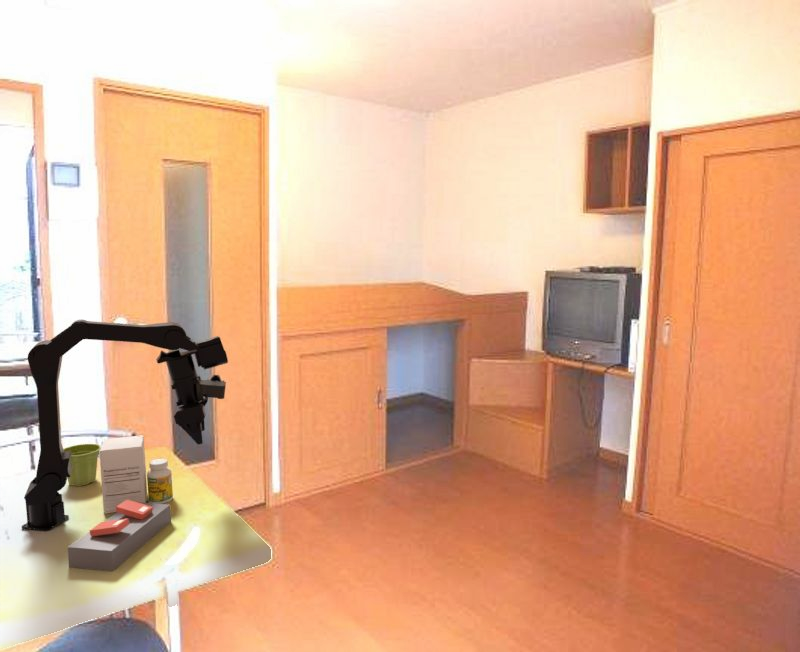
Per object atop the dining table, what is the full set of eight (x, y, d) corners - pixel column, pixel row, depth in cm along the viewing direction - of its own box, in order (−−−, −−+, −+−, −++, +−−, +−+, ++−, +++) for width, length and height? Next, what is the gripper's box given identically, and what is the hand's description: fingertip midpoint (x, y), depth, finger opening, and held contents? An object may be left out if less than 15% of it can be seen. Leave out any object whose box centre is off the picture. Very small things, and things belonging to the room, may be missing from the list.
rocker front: (90, 536, 112) (89, 530, 112) (103, 527, 116) (101, 521, 116) (118, 532, 111) (116, 526, 111) (129, 523, 115) (128, 517, 114)
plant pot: (63, 478, 151) (60, 446, 150) (103, 472, 155) (101, 441, 154) (59, 491, 143) (56, 458, 142) (102, 485, 147) (100, 452, 146)
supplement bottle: (175, 494, 141) (173, 457, 140) (169, 504, 136) (167, 465, 135) (152, 496, 140) (150, 458, 139) (145, 505, 135) (143, 466, 134)
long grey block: (69, 567, 109) (67, 547, 108) (144, 510, 132) (143, 494, 132) (112, 571, 107) (111, 550, 107) (180, 513, 131) (179, 496, 130)
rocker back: (115, 511, 120) (116, 506, 120) (126, 504, 123) (127, 499, 123) (142, 519, 119) (142, 514, 119) (152, 512, 123) (152, 506, 122)
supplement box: (107, 498, 139) (103, 438, 137) (147, 493, 142) (144, 434, 140) (102, 514, 130) (98, 450, 129) (145, 508, 134) (142, 445, 132)
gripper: (217, 376, 128) (235, 441, 131) (220, 358, 145) (235, 415, 149) (165, 389, 125) (184, 455, 129) (174, 369, 143) (191, 427, 146)
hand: (201, 437), depth 138 cm, fingers open, 9 cm apart
